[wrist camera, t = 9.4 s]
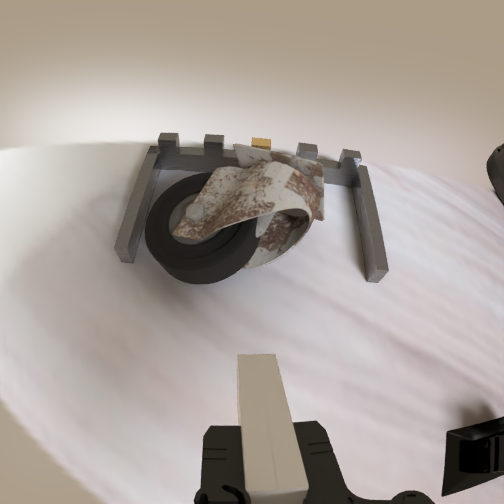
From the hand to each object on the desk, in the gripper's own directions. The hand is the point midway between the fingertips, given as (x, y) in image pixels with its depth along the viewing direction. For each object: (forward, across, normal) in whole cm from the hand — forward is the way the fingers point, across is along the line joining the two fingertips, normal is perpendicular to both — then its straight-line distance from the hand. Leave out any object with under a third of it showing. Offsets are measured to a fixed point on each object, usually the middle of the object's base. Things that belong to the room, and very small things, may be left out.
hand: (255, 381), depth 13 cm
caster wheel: (+14, -1, +3) cm, 14 cm away
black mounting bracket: (+1, +19, -12) cm, 22 cm away
